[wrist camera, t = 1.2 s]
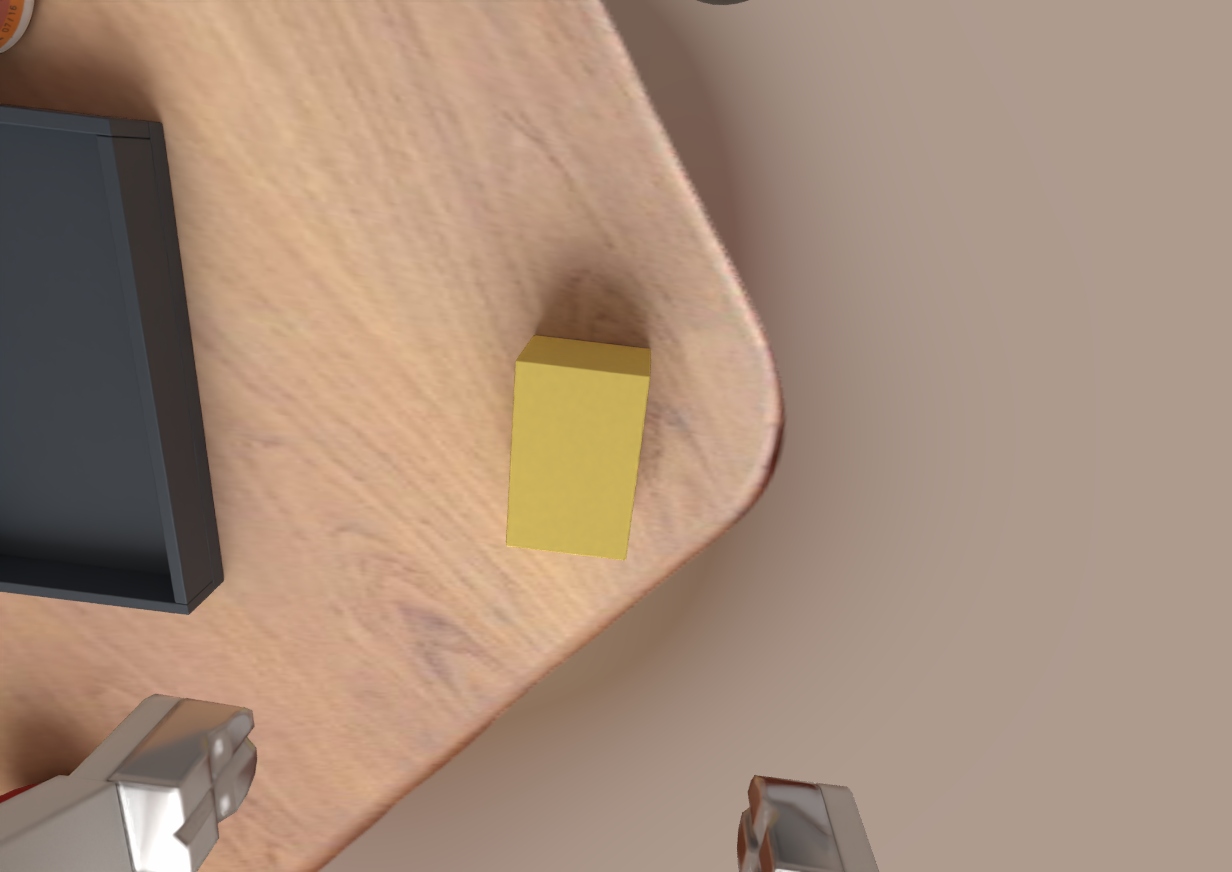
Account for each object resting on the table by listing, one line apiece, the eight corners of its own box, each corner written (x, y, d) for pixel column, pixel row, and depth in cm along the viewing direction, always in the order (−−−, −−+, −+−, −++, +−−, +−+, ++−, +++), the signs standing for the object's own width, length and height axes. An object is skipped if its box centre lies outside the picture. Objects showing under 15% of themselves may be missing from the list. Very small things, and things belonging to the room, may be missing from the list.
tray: (-147, 86, 26) (-236, 77, 23) (162, 122, 26) (108, 117, 23) (-13, 551, 34) (-68, 583, 31) (224, 581, 34) (188, 615, 31)
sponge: (533, 334, 28) (515, 359, 25) (651, 348, 28) (650, 376, 25) (523, 501, 31) (505, 546, 28) (629, 514, 31) (625, 561, 28)
